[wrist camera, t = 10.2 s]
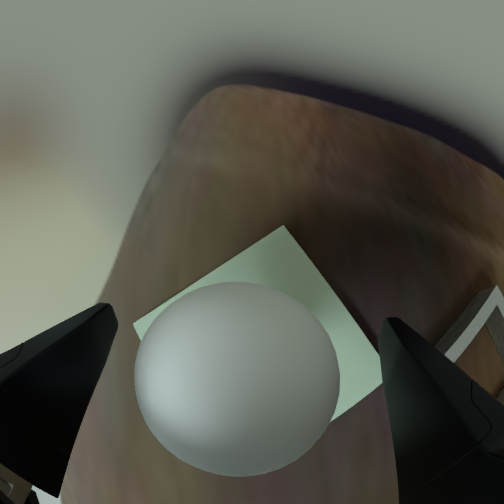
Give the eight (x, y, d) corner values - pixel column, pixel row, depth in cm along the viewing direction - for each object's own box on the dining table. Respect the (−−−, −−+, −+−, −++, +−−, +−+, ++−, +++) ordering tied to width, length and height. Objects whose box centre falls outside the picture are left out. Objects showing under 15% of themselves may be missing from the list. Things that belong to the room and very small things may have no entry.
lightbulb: (304, 304, 16) (349, 238, 5) (313, 403, 14) (366, 501, 3) (203, 314, 16) (88, 268, 6) (211, 410, 14) (113, 494, 4)
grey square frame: (517, 377, 12) (535, 377, 10) (444, 465, 11) (460, 475, 9) (477, 292, 15) (496, 284, 13) (394, 384, 14) (410, 389, 12)
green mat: (386, 373, 15) (391, 374, 14) (231, 470, 13) (229, 475, 13) (283, 229, 18) (283, 225, 18) (138, 324, 17) (132, 323, 16)
